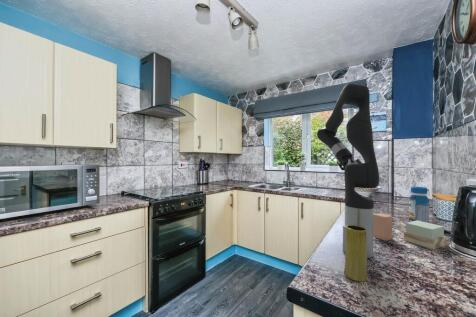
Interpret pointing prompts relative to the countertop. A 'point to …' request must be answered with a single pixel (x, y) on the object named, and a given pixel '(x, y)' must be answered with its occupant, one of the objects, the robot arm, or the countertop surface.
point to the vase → (356, 253)
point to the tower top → (425, 229)
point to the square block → (383, 226)
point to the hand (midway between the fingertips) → (359, 175)
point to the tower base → (425, 241)
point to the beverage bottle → (419, 205)
